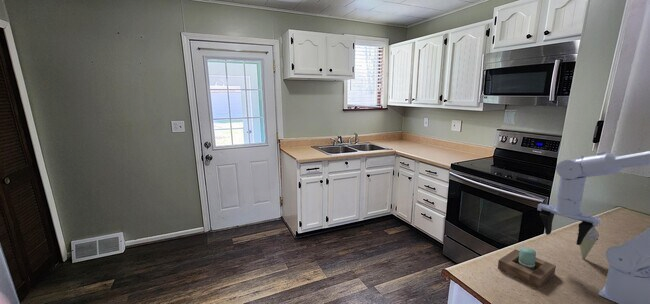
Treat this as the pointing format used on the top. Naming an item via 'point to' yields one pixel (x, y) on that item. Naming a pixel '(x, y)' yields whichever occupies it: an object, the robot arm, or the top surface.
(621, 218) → the top surface
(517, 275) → the stand
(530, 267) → the peg
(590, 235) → the ice cream cone
